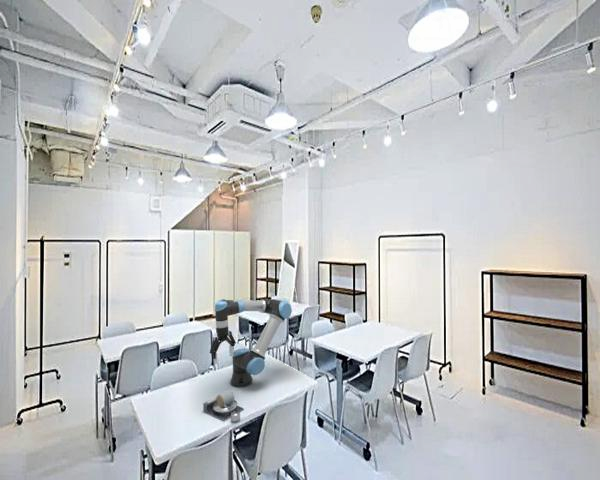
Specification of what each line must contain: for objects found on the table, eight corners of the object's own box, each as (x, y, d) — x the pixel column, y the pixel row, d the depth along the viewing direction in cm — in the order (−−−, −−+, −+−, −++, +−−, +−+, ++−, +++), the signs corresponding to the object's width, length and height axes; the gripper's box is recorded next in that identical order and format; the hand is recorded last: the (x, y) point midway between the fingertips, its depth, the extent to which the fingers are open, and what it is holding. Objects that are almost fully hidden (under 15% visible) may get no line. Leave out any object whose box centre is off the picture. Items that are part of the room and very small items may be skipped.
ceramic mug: (215, 405, 192) (215, 392, 192) (227, 400, 198) (227, 387, 198) (226, 412, 184) (225, 398, 184) (238, 406, 190) (237, 393, 190)
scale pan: (226, 401, 202) (226, 396, 202) (242, 407, 194) (242, 403, 194) (207, 411, 191) (207, 406, 191) (224, 418, 183) (223, 413, 183)
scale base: (223, 401, 205) (223, 392, 205) (243, 409, 194) (243, 400, 194) (203, 411, 193) (203, 402, 193) (223, 421, 182) (223, 411, 182)
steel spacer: (235, 417, 186) (235, 410, 186) (242, 419, 183) (241, 412, 183) (229, 421, 182) (229, 414, 182) (235, 424, 179) (235, 416, 179)
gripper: (231, 320, 219) (233, 352, 220) (202, 331, 198) (204, 366, 199) (240, 322, 215) (241, 353, 216) (211, 332, 194) (213, 368, 195)
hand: (223, 359), depth 207 cm, fingers open, 13 cm apart
